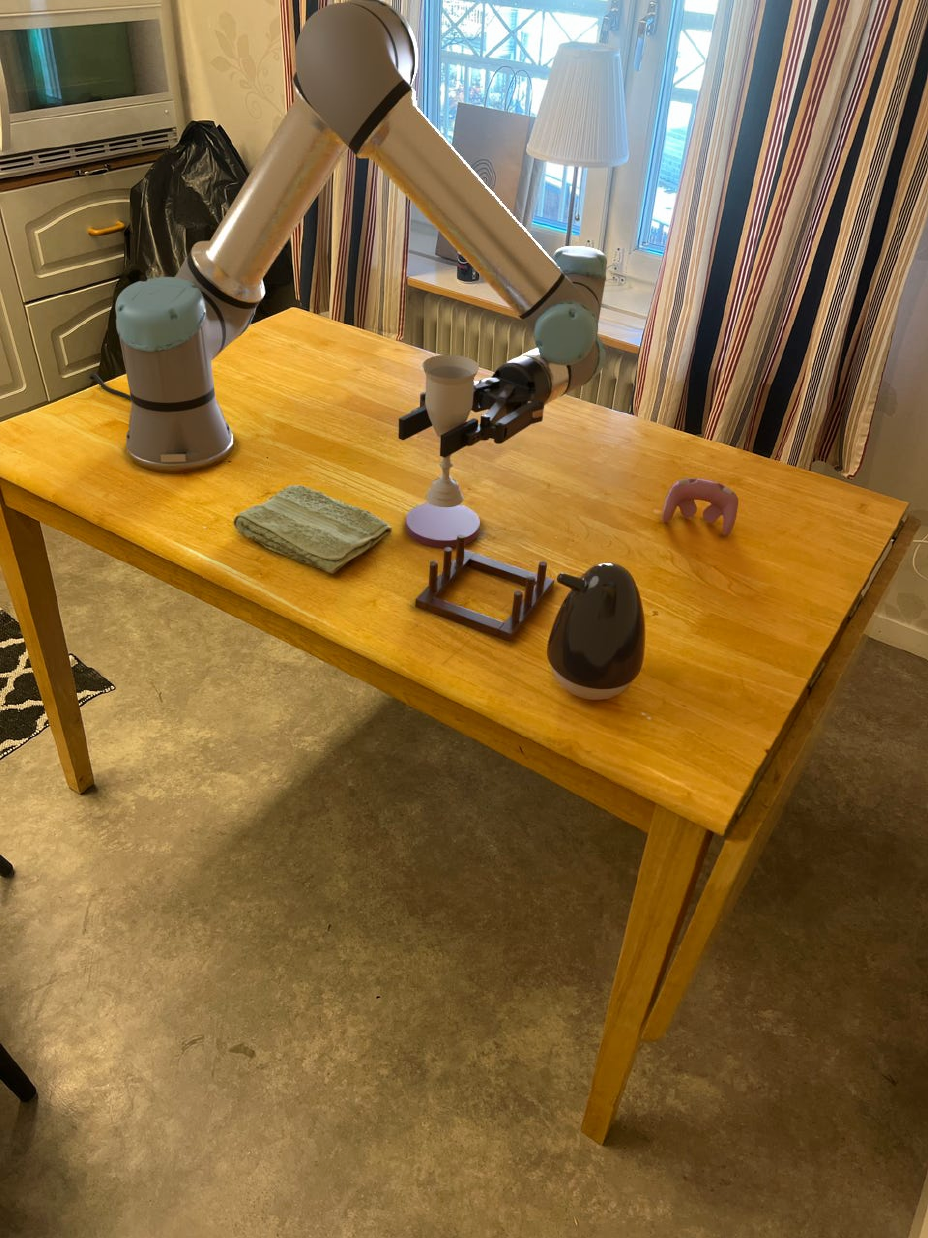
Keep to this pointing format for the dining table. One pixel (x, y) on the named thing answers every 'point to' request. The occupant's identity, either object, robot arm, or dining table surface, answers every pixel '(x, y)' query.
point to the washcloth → (312, 527)
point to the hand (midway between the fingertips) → (421, 437)
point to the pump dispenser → (598, 633)
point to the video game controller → (704, 490)
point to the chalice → (448, 413)
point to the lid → (441, 525)
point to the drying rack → (534, 582)
